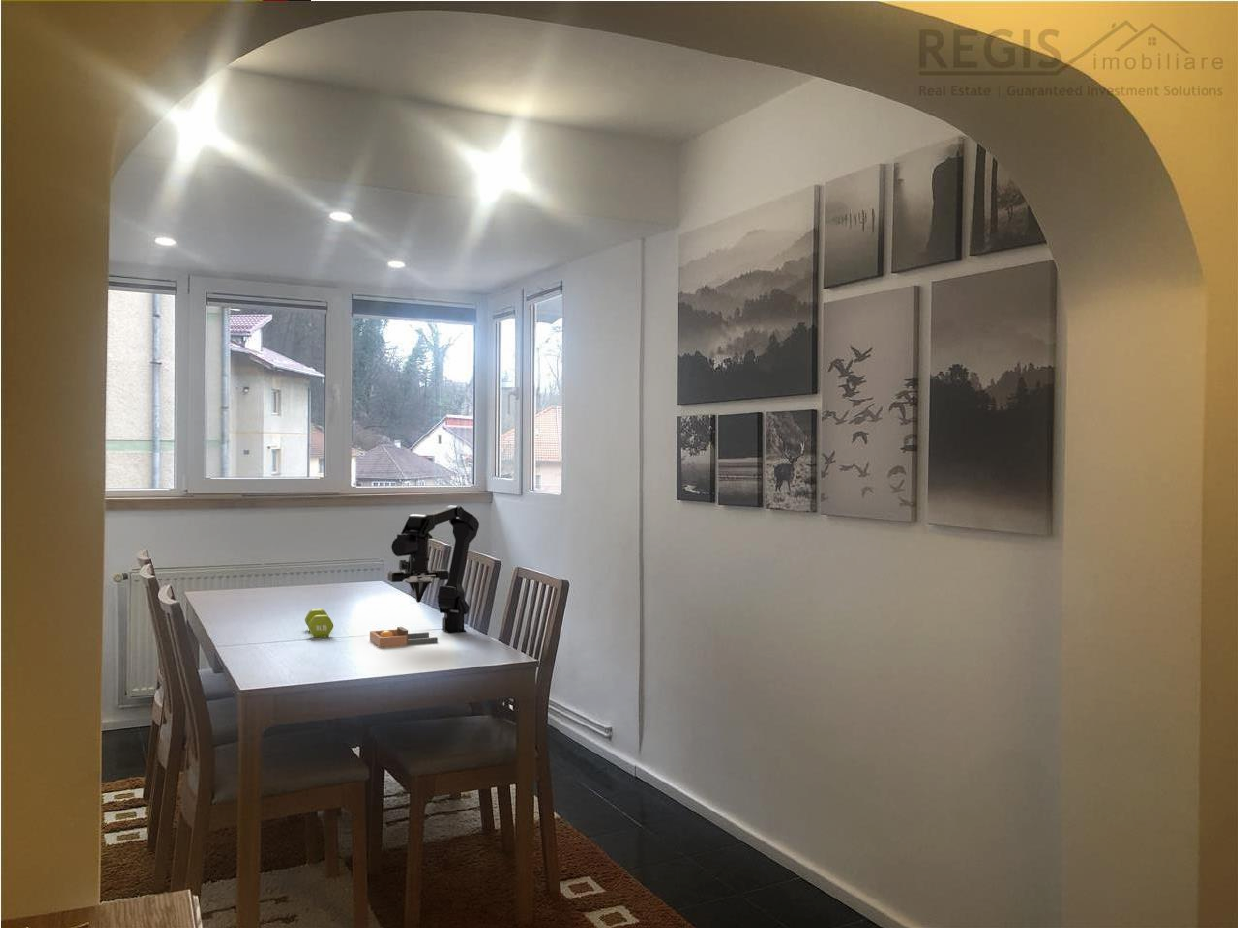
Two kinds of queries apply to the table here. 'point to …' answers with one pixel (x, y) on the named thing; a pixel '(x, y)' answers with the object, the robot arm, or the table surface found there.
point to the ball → (386, 634)
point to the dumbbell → (318, 623)
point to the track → (422, 639)
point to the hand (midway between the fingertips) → (418, 602)
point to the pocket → (387, 639)
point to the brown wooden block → (402, 632)
